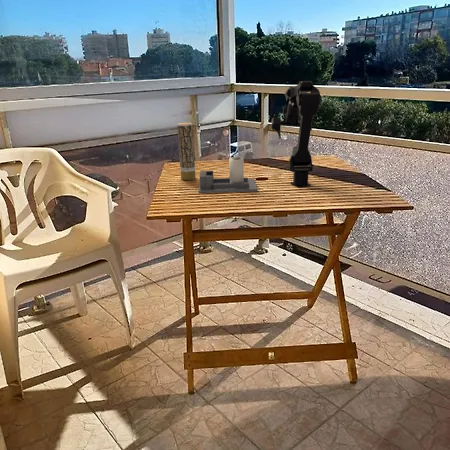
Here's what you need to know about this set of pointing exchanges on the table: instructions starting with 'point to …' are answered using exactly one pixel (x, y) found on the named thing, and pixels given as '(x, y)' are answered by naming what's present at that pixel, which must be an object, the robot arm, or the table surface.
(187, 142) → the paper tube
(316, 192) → the table surface
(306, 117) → the robot arm
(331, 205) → the table surface
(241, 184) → the jig
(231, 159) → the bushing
